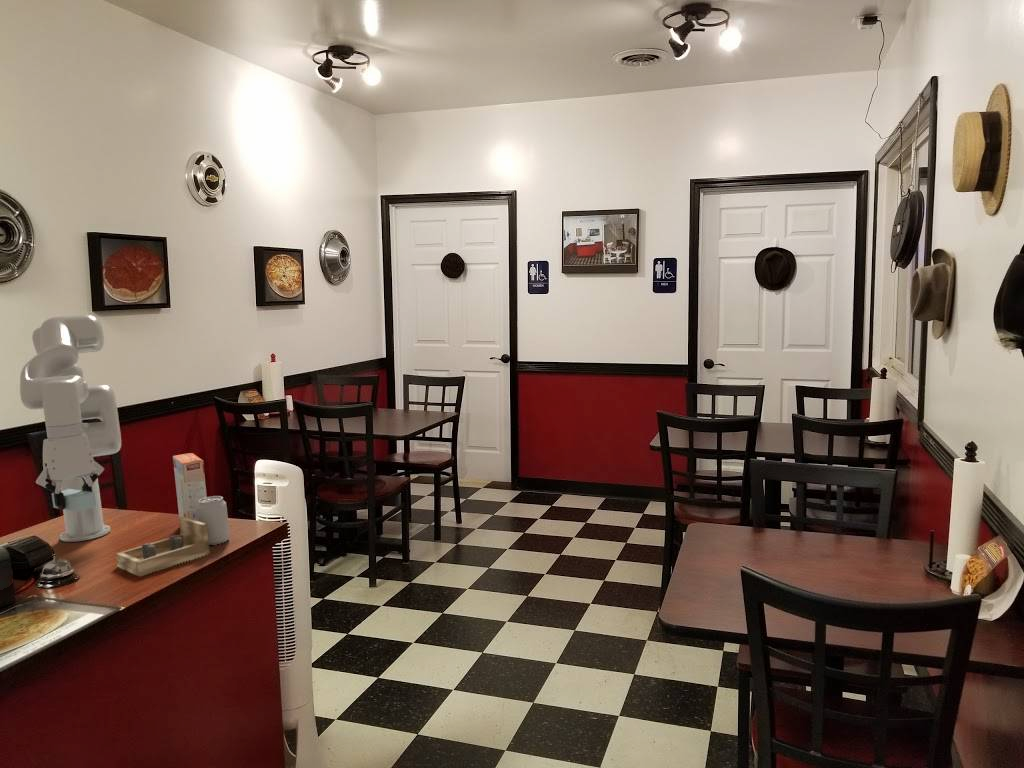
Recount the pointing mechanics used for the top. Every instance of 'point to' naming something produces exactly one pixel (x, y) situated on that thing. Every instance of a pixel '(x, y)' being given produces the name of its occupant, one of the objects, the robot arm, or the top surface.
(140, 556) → the wooden drawer
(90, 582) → the top surface
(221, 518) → the can
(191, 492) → the cracker box
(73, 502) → the block
